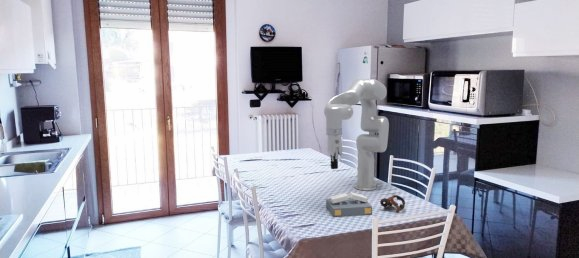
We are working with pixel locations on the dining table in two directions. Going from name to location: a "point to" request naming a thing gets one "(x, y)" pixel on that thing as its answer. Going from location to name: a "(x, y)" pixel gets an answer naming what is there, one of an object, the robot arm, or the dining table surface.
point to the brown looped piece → (393, 203)
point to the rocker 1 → (339, 198)
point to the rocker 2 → (358, 197)
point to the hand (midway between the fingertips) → (334, 168)
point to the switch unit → (348, 208)
